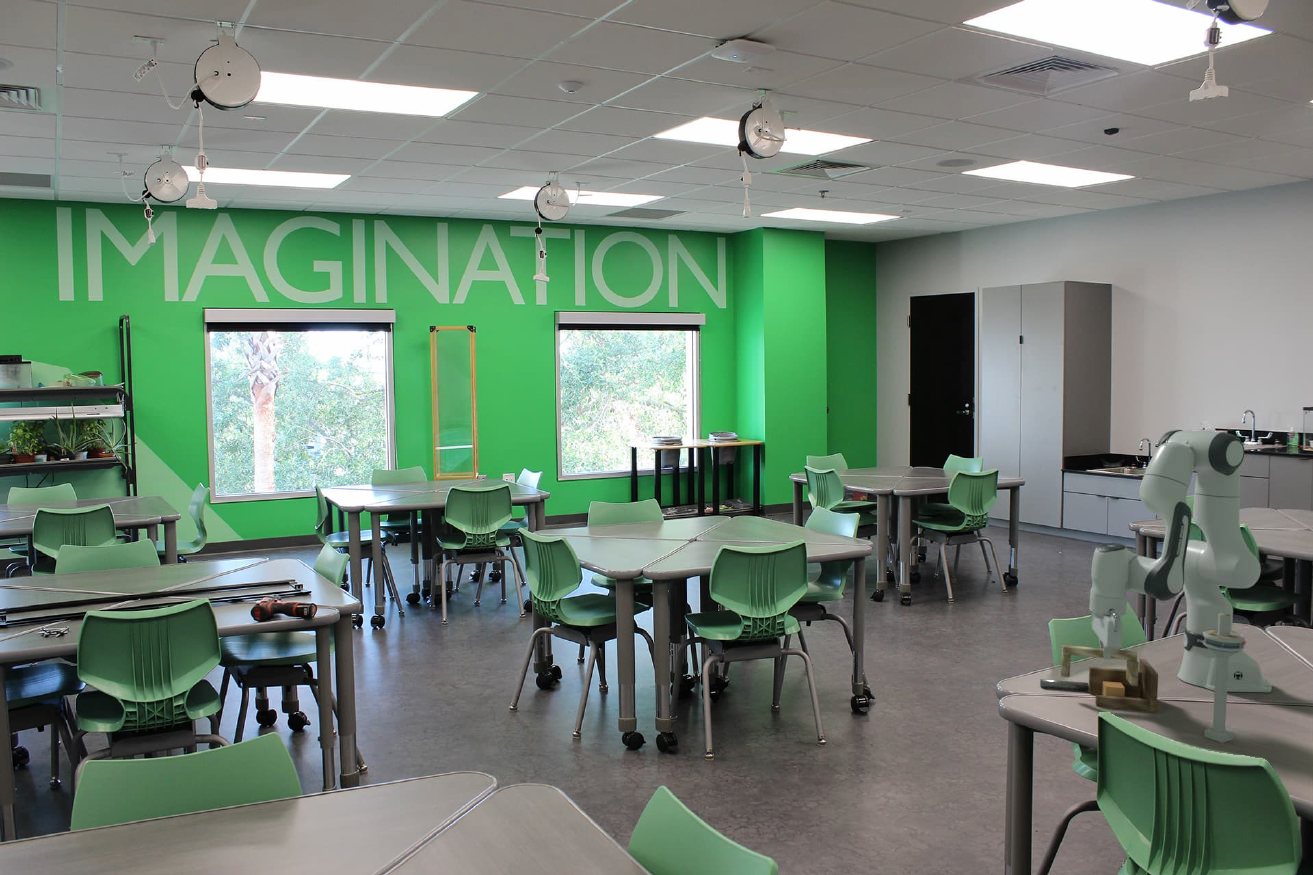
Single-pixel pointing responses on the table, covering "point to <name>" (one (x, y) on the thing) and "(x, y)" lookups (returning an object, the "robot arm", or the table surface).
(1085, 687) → the dark metal rod
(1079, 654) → the beech crook
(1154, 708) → the walnut cubby
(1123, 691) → the orange cube
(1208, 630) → the model tower
